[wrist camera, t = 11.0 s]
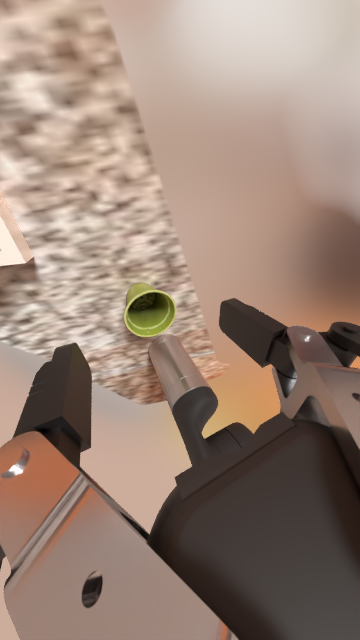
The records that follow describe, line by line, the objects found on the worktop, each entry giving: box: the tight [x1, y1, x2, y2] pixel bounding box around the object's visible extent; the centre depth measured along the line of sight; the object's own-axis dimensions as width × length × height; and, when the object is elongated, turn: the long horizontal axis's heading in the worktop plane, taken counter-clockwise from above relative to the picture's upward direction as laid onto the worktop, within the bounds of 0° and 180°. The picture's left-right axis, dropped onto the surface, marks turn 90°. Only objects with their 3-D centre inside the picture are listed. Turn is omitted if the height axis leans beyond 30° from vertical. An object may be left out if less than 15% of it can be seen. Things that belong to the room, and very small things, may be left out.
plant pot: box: [124, 283, 176, 337], centre depth 33 cm, size 9×9×9 cm
